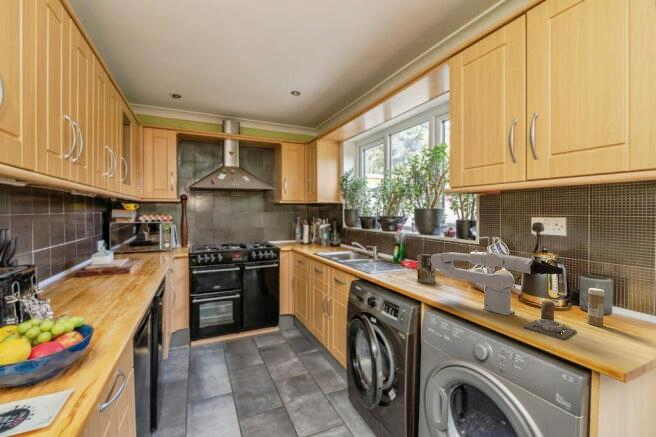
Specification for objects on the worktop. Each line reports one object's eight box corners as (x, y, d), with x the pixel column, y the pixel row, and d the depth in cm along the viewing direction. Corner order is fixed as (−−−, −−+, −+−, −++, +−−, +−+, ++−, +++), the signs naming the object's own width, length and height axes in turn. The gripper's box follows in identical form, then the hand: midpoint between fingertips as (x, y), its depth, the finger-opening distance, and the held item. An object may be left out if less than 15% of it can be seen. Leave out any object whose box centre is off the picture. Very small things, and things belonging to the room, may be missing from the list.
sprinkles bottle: (583, 322, 110) (585, 287, 110) (594, 322, 111) (595, 287, 111) (596, 327, 106) (597, 290, 106) (607, 326, 106) (608, 290, 106)
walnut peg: (539, 319, 113) (539, 301, 113) (543, 317, 115) (543, 300, 115) (551, 322, 110) (552, 304, 109) (555, 320, 112) (556, 302, 112)
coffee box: (435, 281, 174) (436, 255, 174) (431, 283, 169) (431, 256, 169) (421, 279, 180) (422, 253, 180) (416, 280, 176) (417, 254, 175)
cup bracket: (523, 327, 104) (523, 321, 104) (536, 321, 111) (536, 314, 111) (564, 340, 94) (564, 332, 94) (576, 331, 101) (576, 324, 101)
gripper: (512, 253, 112) (554, 260, 101) (525, 254, 121) (566, 261, 110) (509, 271, 112) (552, 279, 101) (523, 271, 121) (564, 279, 110)
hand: (559, 271), depth 106 cm, fingers open, 7 cm apart
